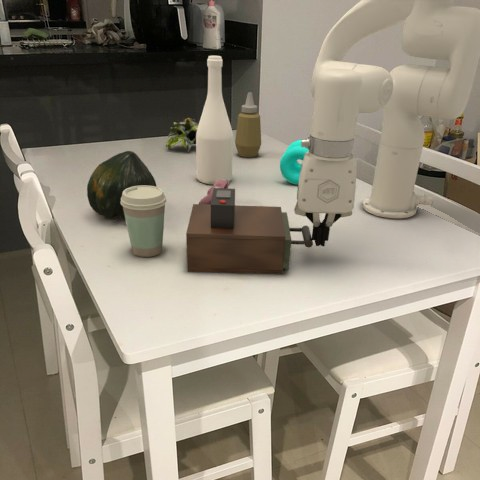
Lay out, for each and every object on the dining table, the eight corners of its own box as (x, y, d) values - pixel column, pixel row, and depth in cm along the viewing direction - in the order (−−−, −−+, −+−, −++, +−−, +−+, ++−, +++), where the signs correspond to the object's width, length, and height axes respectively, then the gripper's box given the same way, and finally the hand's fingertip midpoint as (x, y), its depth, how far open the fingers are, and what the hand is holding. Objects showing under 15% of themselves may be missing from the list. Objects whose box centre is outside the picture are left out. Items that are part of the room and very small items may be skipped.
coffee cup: (148, 238, 110) (144, 181, 104) (177, 250, 106) (175, 191, 99) (116, 251, 105) (109, 191, 98) (145, 264, 100) (141, 203, 94)
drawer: (306, 239, 110) (308, 212, 107) (312, 269, 98) (316, 240, 95) (204, 236, 110) (204, 209, 106) (199, 266, 98) (199, 237, 95)
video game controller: (212, 217, 125) (226, 193, 121) (195, 207, 124) (208, 182, 120) (222, 203, 133) (235, 179, 129) (206, 193, 132) (219, 169, 128)
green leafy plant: (190, 163, 174) (210, 131, 171) (192, 166, 164) (214, 132, 161) (160, 142, 170) (180, 109, 167) (161, 145, 160) (182, 109, 157)
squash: (69, 186, 120) (89, 144, 108) (126, 175, 129) (149, 135, 117) (98, 240, 118) (121, 203, 106) (153, 225, 127) (179, 190, 116)
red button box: (234, 210, 104) (235, 187, 102) (233, 228, 97) (234, 204, 94) (213, 209, 104) (213, 186, 102) (210, 227, 97) (210, 203, 94)
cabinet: (278, 241, 111) (281, 206, 107) (282, 274, 98) (285, 236, 94) (193, 239, 111) (193, 203, 106) (187, 271, 98) (186, 233, 94)
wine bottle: (237, 183, 141) (240, 58, 125) (203, 187, 138) (202, 59, 122) (224, 173, 148) (226, 53, 132) (192, 176, 145) (189, 54, 129)
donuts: (277, 184, 142) (280, 146, 136) (284, 173, 150) (286, 136, 145) (315, 188, 140) (319, 149, 135) (319, 176, 148) (323, 140, 143)
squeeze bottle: (231, 152, 166) (232, 90, 157) (255, 151, 169) (258, 89, 159) (239, 159, 160) (240, 95, 150) (264, 158, 162) (267, 94, 152)
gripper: (289, 151, 90) (281, 250, 100) (378, 154, 90) (361, 253, 100) (286, 140, 96) (279, 234, 106) (369, 142, 96) (354, 236, 106)
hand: (319, 243), depth 103 cm, fingers closed
